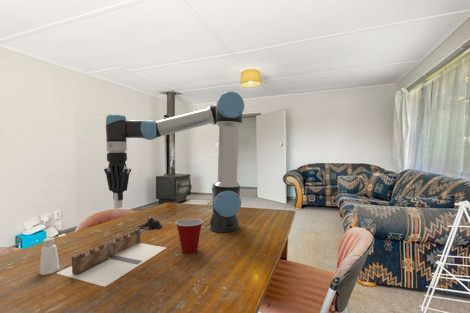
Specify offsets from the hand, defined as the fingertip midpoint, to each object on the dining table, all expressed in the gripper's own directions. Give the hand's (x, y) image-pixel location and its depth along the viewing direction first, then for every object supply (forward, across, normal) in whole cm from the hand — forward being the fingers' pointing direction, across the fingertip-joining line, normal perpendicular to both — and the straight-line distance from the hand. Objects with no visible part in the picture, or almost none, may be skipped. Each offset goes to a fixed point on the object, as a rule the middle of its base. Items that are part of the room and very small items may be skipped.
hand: (118, 207), depth 96 cm
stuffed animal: (+17, -2, +21) cm, 27 cm away
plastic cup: (+16, +32, +5) cm, 36 cm away
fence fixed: (+15, +7, -17) cm, 24 cm away
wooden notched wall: (+15, +7, -3) cm, 17 cm away
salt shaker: (+16, -4, -24) cm, 29 cm away
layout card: (+16, +11, -10) cm, 22 cm away
